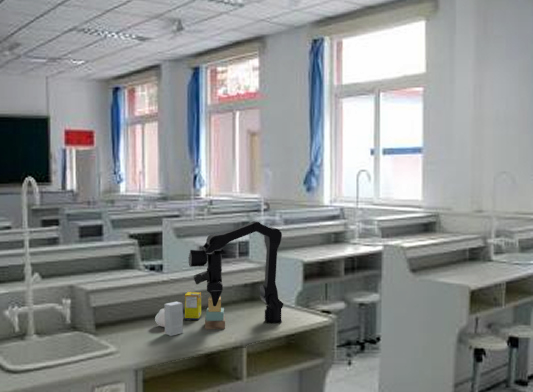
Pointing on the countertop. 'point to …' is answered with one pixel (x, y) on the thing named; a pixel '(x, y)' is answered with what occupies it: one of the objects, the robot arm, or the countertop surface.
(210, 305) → the ochre block
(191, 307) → the supplement box
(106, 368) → the countertop surface
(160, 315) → the motion sensor
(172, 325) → the skincare box
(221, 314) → the tower top
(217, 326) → the tower base
